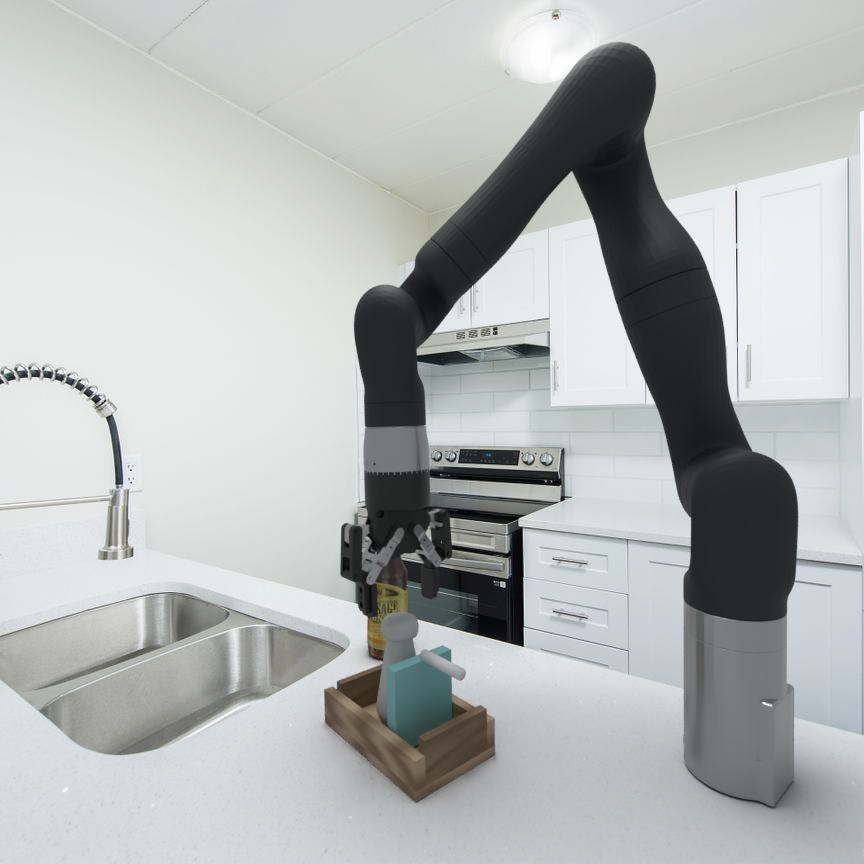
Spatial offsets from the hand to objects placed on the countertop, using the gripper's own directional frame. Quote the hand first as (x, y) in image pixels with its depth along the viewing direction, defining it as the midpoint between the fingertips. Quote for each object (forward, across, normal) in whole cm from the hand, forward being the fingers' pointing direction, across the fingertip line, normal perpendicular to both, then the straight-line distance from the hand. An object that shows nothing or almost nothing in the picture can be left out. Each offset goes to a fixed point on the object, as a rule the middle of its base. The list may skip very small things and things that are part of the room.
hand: (401, 606), depth 61 cm
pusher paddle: (+14, 0, -6) cm, 15 cm away
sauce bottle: (+15, +11, +19) cm, 27 cm away
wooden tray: (+15, 0, 0) cm, 15 cm away
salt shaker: (+14, 0, 0) cm, 14 cm away
